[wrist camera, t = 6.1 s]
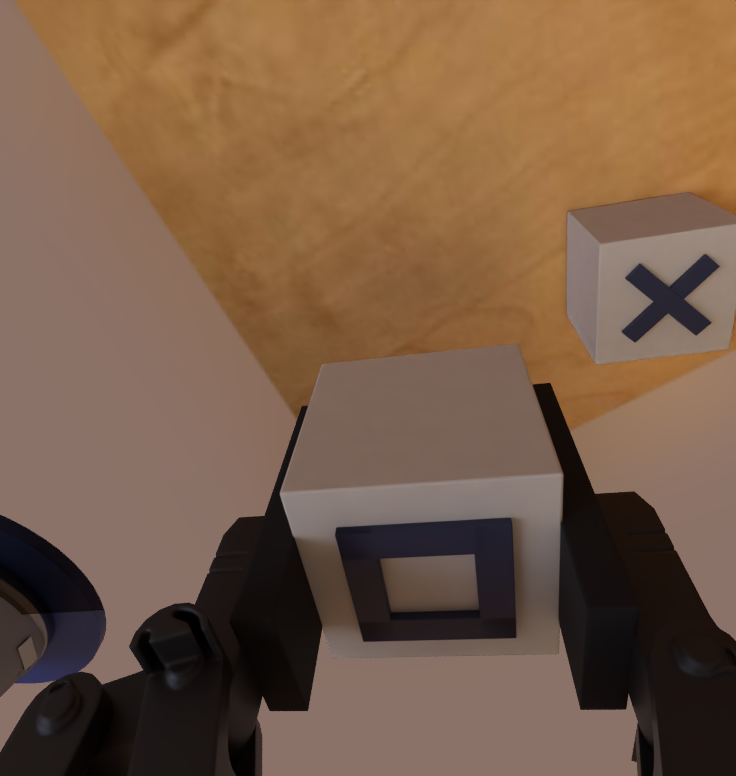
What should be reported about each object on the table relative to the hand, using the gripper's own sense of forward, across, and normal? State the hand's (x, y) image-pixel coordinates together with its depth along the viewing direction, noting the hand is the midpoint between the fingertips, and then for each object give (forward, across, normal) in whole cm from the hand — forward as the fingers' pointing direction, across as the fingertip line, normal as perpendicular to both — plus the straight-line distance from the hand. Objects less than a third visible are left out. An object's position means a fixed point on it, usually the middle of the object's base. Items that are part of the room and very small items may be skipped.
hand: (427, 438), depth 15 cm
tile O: (0, 0, 0) cm, 0 cm away
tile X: (+13, +9, 0) cm, 16 cm away
